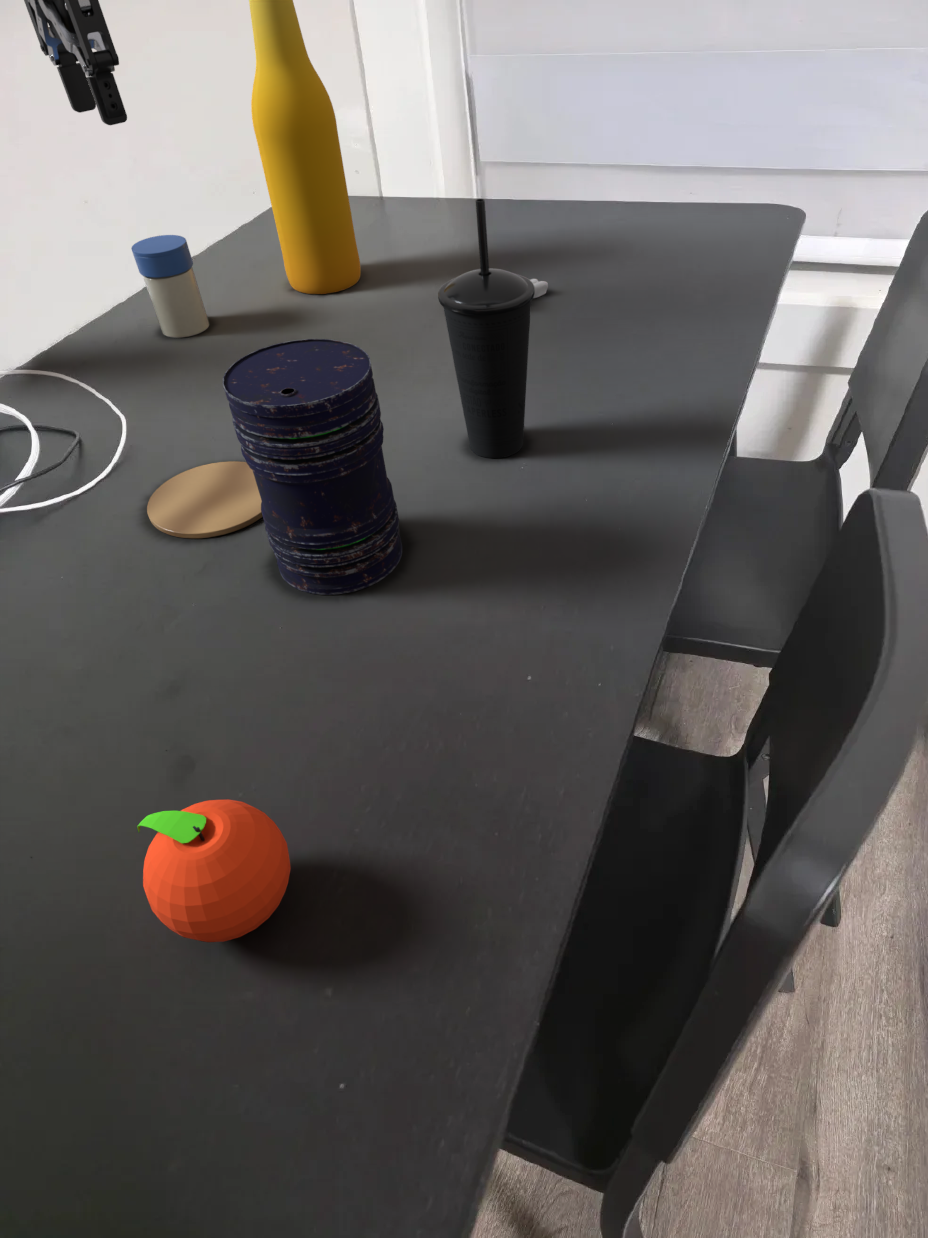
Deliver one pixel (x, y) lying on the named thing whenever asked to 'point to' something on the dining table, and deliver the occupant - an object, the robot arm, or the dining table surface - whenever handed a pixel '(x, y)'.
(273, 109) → the beer bottle
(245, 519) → the coaster
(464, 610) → the dining table surface
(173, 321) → the jar
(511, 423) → the drinking cup
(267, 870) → the clementine
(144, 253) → the jar lid
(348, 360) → the navy ridged cylinder
